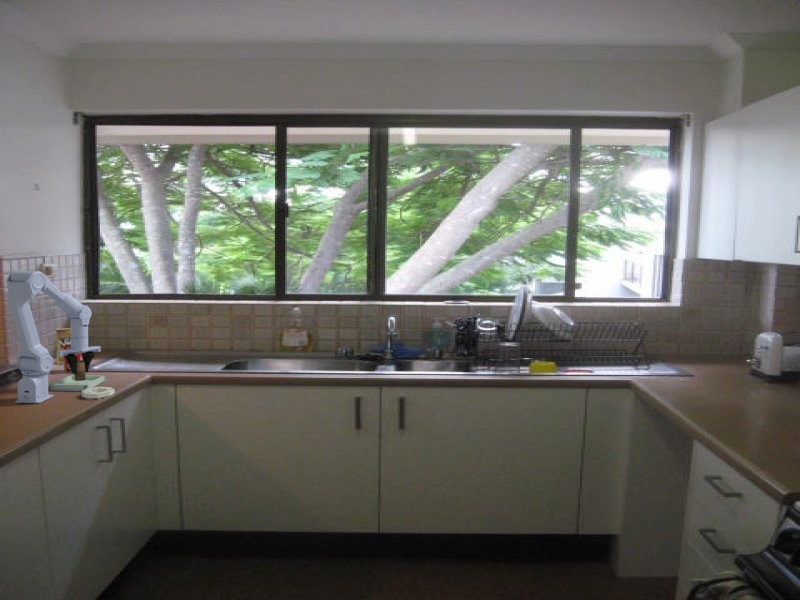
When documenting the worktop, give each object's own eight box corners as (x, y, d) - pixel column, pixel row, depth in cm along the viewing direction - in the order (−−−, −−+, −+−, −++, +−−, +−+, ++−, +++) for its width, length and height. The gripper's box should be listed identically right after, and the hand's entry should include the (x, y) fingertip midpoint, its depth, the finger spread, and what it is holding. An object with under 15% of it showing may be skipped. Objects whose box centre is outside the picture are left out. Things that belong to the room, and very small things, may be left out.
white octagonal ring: (106, 399, 203) (106, 394, 203) (77, 399, 203) (77, 393, 202) (118, 392, 213) (117, 387, 212) (90, 392, 212) (90, 386, 212)
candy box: (56, 364, 253) (56, 329, 252) (57, 362, 257) (56, 328, 256) (79, 363, 258) (79, 328, 256) (80, 361, 261) (79, 327, 260)
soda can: (61, 373, 238) (61, 344, 236) (66, 369, 244) (66, 341, 243) (81, 373, 240) (80, 344, 238) (85, 369, 246) (84, 341, 245)
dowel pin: (82, 381, 217) (82, 362, 216) (72, 380, 217) (72, 362, 216) (87, 378, 221) (87, 360, 220) (77, 378, 220) (77, 360, 220)
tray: (86, 391, 213) (86, 385, 212) (49, 390, 212) (49, 384, 212) (105, 381, 228) (105, 375, 227) (70, 380, 227) (70, 374, 227)
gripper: (63, 340, 209) (64, 377, 210) (104, 336, 220) (104, 371, 222) (54, 337, 213) (55, 374, 214) (95, 333, 225) (95, 368, 226)
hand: (79, 372), depth 218 cm, fingers closed on dowel pin, 4 cm apart
